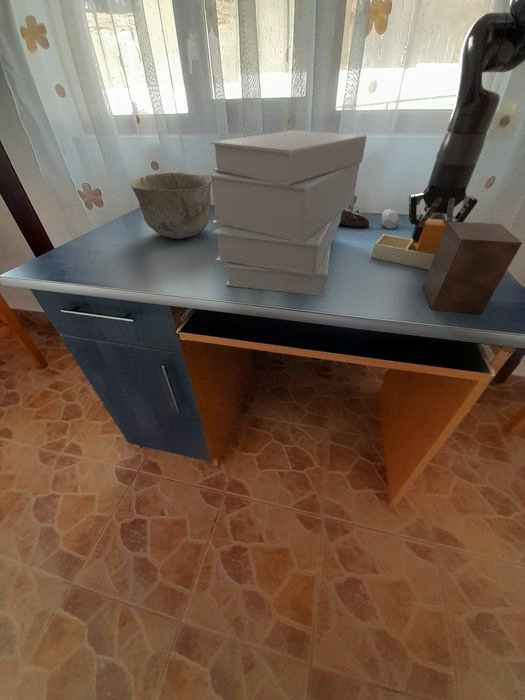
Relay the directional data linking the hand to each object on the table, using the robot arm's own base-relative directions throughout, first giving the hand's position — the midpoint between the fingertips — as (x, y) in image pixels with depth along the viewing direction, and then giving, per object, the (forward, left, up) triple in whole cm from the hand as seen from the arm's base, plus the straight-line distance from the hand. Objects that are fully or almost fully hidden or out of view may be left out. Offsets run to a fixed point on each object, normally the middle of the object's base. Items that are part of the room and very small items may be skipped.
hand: (426, 242), depth 71 cm
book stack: (+25, +23, -5) cm, 34 cm away
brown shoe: (+28, -11, -5) cm, 31 cm away
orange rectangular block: (0, 0, -1) cm, 1 cm away
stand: (-12, +14, -5) cm, 19 cm away
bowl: (+60, +31, -5) cm, 68 cm away
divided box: (0, 0, -5) cm, 5 cm away
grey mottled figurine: (+8, -28, -5) cm, 30 cm away
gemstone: (+18, -18, -5) cm, 26 cm away
